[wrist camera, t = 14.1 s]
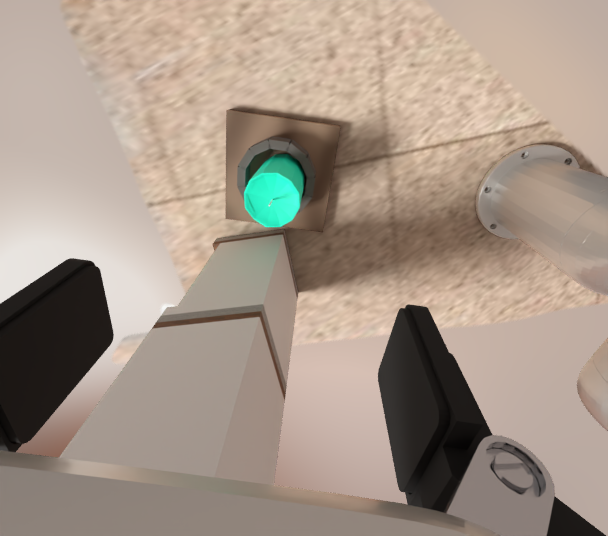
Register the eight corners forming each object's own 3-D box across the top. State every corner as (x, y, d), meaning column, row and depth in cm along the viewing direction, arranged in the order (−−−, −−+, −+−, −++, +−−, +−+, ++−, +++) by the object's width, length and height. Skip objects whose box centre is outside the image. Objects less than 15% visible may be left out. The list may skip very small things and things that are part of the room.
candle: (281, 143, 40) (266, 161, 30) (314, 177, 42) (311, 206, 32) (251, 177, 43) (227, 205, 32) (284, 208, 45) (271, 244, 34)
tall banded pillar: (216, 238, 49) (39, 484, 19) (284, 228, 48) (214, 477, 17) (236, 299, 54) (125, 568, 24) (298, 292, 53) (263, 568, 23)
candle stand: (340, 125, 40) (341, 129, 37) (322, 228, 47) (322, 240, 43) (229, 109, 40) (219, 111, 36) (228, 214, 47) (219, 226, 43)
